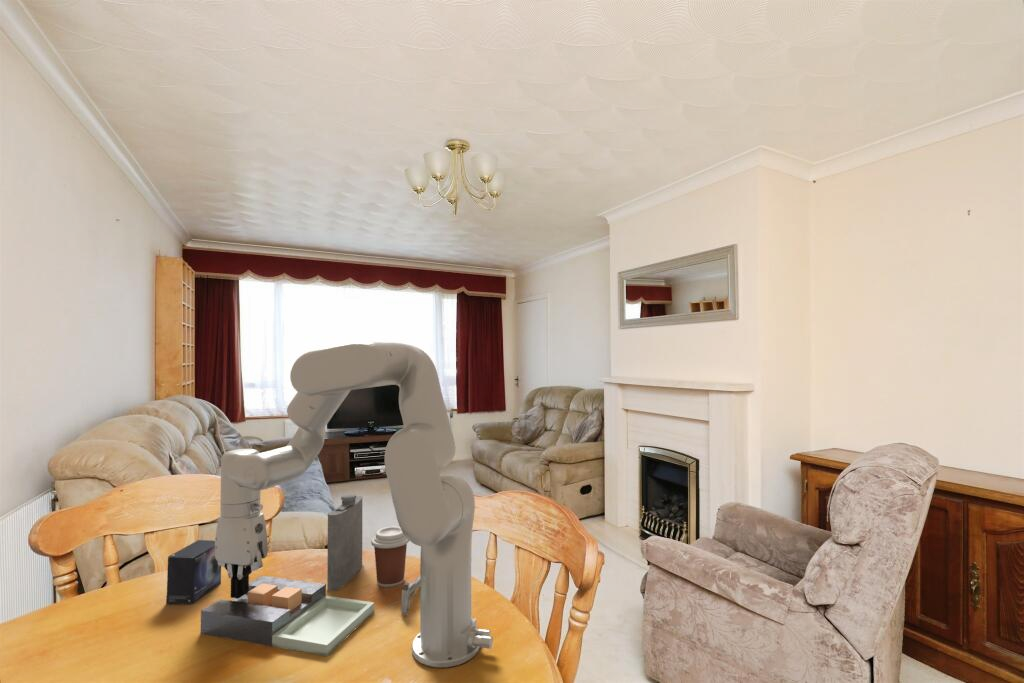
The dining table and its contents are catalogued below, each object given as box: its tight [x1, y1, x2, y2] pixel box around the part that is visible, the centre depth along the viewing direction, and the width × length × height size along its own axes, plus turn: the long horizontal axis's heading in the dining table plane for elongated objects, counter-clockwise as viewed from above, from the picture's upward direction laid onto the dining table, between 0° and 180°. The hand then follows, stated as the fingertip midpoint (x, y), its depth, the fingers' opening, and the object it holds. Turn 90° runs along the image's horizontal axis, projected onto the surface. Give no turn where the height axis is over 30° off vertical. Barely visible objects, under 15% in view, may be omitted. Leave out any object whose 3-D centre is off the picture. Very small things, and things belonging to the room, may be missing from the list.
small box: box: [165, 539, 222, 605], centre depth 114 cm, size 11×6×10 cm, turn 179°
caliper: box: [400, 575, 420, 616], centre depth 113 cm, size 20×1×6 cm, turn 176°
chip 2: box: [272, 587, 302, 611], centre depth 101 cm, size 4×4×3 cm
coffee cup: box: [370, 526, 410, 588], centre depth 119 cm, size 9×9×12 cm
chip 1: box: [247, 583, 278, 606], centre depth 103 cm, size 4×4×3 cm
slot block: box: [200, 575, 327, 647], centre depth 102 cm, size 17×16×4 cm
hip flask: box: [326, 493, 363, 592], centre depth 122 cm, size 16×4×20 cm, turn 175°
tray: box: [271, 595, 375, 657], centre depth 98 cm, size 12×16×2 cm
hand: (239, 595), depth 104 cm, fingers closed
